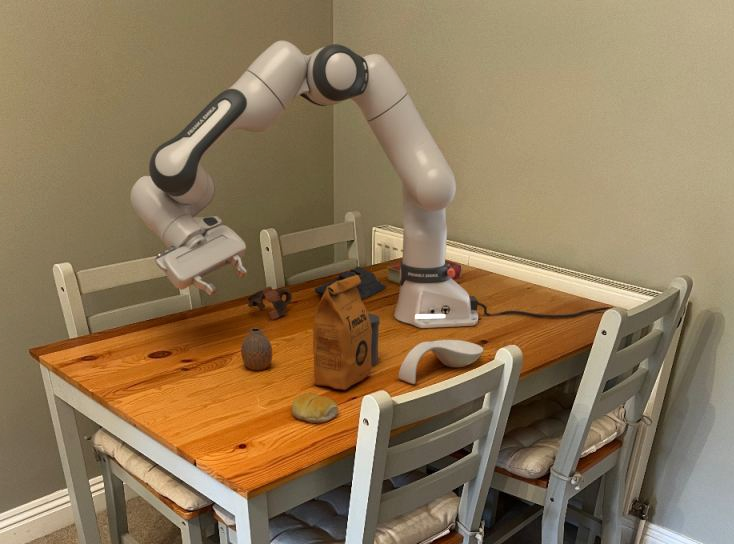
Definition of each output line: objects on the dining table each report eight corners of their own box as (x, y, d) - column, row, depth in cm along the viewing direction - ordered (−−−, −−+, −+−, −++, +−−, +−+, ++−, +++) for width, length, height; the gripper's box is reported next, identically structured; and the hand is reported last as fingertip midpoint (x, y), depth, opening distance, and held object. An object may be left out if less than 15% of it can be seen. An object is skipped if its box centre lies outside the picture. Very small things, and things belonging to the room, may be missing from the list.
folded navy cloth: (305, 296, 213) (305, 279, 210) (346, 278, 229) (346, 263, 226) (351, 305, 207) (351, 288, 204) (389, 286, 223) (390, 270, 220)
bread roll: (307, 402, 152) (307, 384, 150) (343, 413, 148) (343, 394, 146) (282, 416, 146) (281, 397, 144) (319, 428, 142) (319, 409, 140)
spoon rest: (451, 349, 179) (454, 320, 175) (491, 362, 172) (495, 332, 168) (386, 376, 164) (387, 345, 160) (427, 391, 158) (429, 359, 154)
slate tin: (378, 355, 175) (379, 313, 169) (378, 367, 168) (379, 323, 163) (347, 355, 175) (347, 312, 169) (346, 367, 168) (346, 323, 163)
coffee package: (378, 378, 163) (381, 277, 151) (344, 396, 155) (344, 291, 143) (342, 367, 168) (342, 268, 156) (307, 384, 160) (304, 281, 148)
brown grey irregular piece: (264, 324, 193) (249, 295, 191) (254, 330, 202) (239, 302, 199) (302, 305, 197) (288, 276, 195) (291, 312, 206) (277, 284, 203)
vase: (276, 362, 170) (274, 325, 165) (269, 373, 164) (267, 335, 160) (246, 360, 171) (243, 323, 166) (239, 372, 165) (236, 333, 160)
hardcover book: (461, 277, 232) (462, 263, 230) (412, 289, 221) (413, 274, 219) (434, 269, 240) (435, 255, 238) (386, 280, 228) (386, 266, 226)
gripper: (152, 247, 158) (196, 293, 158) (222, 213, 169) (264, 256, 168) (149, 267, 164) (191, 312, 163) (217, 232, 174) (257, 274, 174)
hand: (229, 283), depth 166 cm, fingers open, 8 cm apart
